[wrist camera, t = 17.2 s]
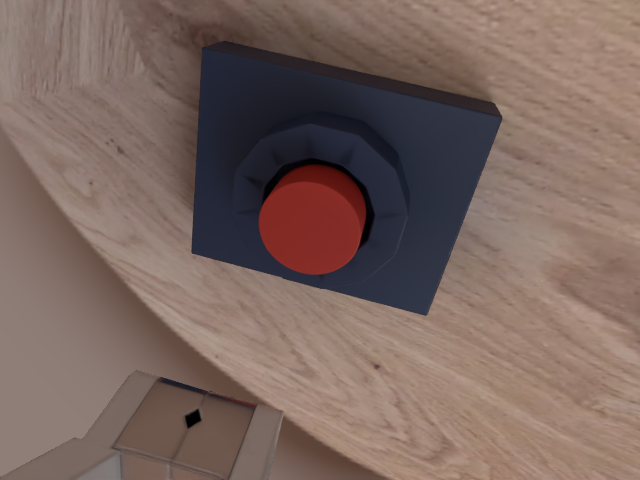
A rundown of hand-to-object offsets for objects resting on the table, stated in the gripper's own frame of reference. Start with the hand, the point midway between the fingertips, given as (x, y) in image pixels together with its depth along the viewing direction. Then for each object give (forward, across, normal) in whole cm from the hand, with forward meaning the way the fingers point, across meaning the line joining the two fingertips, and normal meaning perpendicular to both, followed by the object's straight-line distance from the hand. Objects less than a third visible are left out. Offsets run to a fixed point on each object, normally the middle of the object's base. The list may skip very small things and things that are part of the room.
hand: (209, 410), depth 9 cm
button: (+10, 0, 0) cm, 10 cm away
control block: (+13, 0, 0) cm, 13 cm away
